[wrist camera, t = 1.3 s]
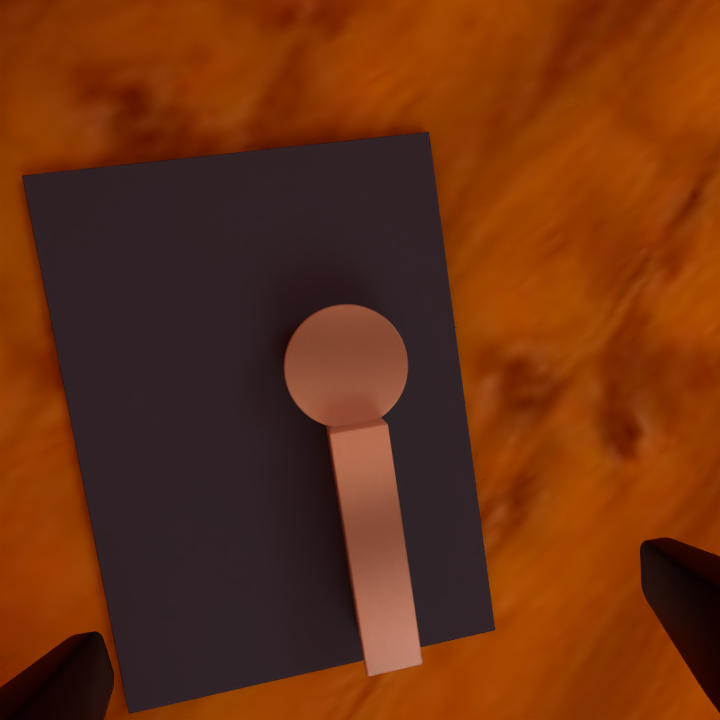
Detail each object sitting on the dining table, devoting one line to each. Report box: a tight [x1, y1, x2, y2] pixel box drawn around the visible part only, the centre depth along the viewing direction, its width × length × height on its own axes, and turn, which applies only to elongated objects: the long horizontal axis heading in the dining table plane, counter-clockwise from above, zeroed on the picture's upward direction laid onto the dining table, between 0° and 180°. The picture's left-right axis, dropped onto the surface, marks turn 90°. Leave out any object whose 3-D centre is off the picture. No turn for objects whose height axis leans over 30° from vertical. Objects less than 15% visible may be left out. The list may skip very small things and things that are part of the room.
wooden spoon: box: [284, 304, 422, 676], centre depth 20 cm, size 14×5×3 cm, turn 8°
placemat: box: [22, 132, 495, 714], centre depth 21 cm, size 22×16×1 cm
